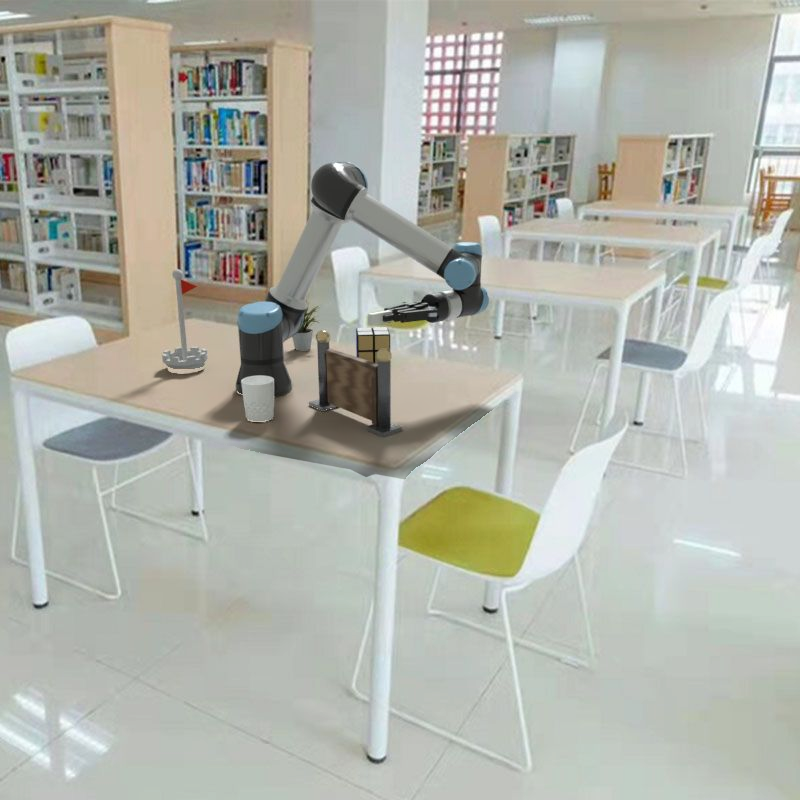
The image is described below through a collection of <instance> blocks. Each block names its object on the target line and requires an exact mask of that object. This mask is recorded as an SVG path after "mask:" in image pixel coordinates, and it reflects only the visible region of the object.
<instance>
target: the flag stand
mask: <svg viewBox="0 0 800 800" xmlns="http://www.w3.org/2000/svg"><path fill="white" fill-rule="evenodd" d="M183 275H184V273H183V271H182V270H181V269H173V271H172V275H171V276H172V277H173V279H175V280H174V281H175V288H176V289H175V290H176V300H177V311H178V320H179V321H178V323H179V333H180V343H181V346H178V347H174V348H173V349H174V351H172V352H171V349H166V350H163V351H162V353H161V358H162V362H163V363H162V364H165V365H166V367H167V366H168V367H170V368H173V369H195V368H200V367H203V366H204V365H206V363H205V362H207V360H208V359H209V358H208V350H207V348H201V350H200V347H199V346H190V347H189V350H188V344H187V333H186V322H185V313H184V312H185V311H184V301H183V295H185V294H186V293H188V292H189V291H192V290H193V289H195V288H197V285H195V284H192V283H190V282H188V281H185V280H183ZM181 360H183V361H181Z"/></svg>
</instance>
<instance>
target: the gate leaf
mask: <svg viewBox="0 0 800 800" xmlns="http://www.w3.org/2000/svg"><path fill="white" fill-rule="evenodd" d="M325 354H326V360H327V392H328V403H330V404H332V405H335V406H337V408H340V409H342V410H345V411H347V412H350V413H351V414H354V415H357V416H358V417H359V416H360V417H362V418H364V419H367V420H368V421H369V420H370V421H371V425H372V424H374V425H378V364H377V363H374V362H371V361H368V360H364V359H361V358H358V357H357V356H355V355H352V354H348V353H345V352H343V351H339V350H336V349H333V348H329V349H327V350H325Z"/></svg>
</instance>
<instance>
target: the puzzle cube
mask: <svg viewBox="0 0 800 800" xmlns="http://www.w3.org/2000/svg"><path fill="white" fill-rule="evenodd" d="M355 341H356V343H355V344H356V345H355V347H356V357H358V358H361V359H364V360H368V361H371V362H374V363H377V364H378V362H377V358H376V354H377V352H378V351H379V350H380V349H382V348H386V349H388V350H389V351H390V352H391V333H390V330H389V328H388V326H386V327H385V326H384V327H382V326H380V327H379V326H378V327H374V326H373V327H356V329H355Z"/></svg>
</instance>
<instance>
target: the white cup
mask: <svg viewBox="0 0 800 800" xmlns="http://www.w3.org/2000/svg"><path fill="white" fill-rule="evenodd" d="M241 384H242V392H243V396H242V400H243V406H244V412H245V419H246V418H247V419H249V420H253V421H265V420H270V419H272V418H273V417H275V414H274V413H275V412H274V411H275V409H274V408H275V397H274V378H273V377H270V376H263V375H258V376H250V377H246V378H244V379H242V380H241ZM273 419H274V418H273ZM273 419H272V420H273Z"/></svg>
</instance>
